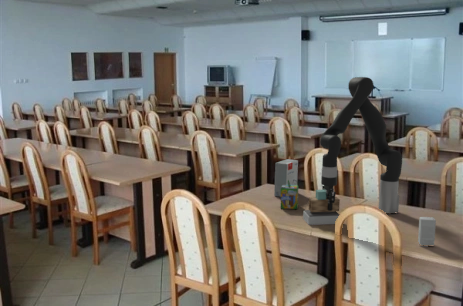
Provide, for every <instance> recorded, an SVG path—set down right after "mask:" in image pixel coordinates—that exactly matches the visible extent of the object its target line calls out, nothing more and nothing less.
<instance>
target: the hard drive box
mask: <svg viewBox="0 0 463 306" xmlns="http://www.w3.org/2000/svg"><path fill="white" fill-rule="evenodd" d="M298 165H299V160H296V159H288V158H287V159H283V160H281V161H278V162H275V166H274V168H275V169H274V170H275V171H274V191H273V195H274V196H275V197H280V198H281V187H282V185H288V180H289V183H290V185H298V174H299V173H298V170H299V167H298Z"/></svg>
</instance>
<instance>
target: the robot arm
mask: <svg viewBox="0 0 463 306" xmlns="http://www.w3.org/2000/svg"><path fill="white" fill-rule="evenodd" d="M373 90H374V81H373V80H372V79H371V78H370V77H368V76H367V77H366V76H359V77H358V76H356V77H352V78H350V80H349V82H348V91H349V94H350V95H351V97H352V98H351V100H350V101H349V102H348V103H347V104H346V105H344V107H342V109H341V110H339V112H338V113H337V115H336V117H335V118H334V120H333V122H332V123H331V125H330V126H329V127H328V128H327V129H326V130H325V131H324V132H323V134H322V135H321V136H320V140H319V143H320V146H321V147H322V148H323V149H327V153H324V154H323V155H322V161H321V162H322V164H321V177H320V178H321V182H320V183H321V185H322V186H321V188H322V189H321V190H325V191H326V198H327V199H328V211H332V207H333V203H334V202H335V197H336V195H337V193H336V191H335V189H334V187H335V186H337V184H338V157H339V154H340V150H341V148H342V140H341V138H340V136H338V135H342V134H344V133H345V131H346V129H348V127H349V124H350V123H351V121H352V120H353V118H354V116H355V114H357V112H358V111H359V113H360V115H361V118H362V120H363V122H364V126H365V128H366V130H367V132H368V134H369V137H370V139H371V142H372V144H373V146H374V150H375V152H376V157H377V160H378V162H379V163H380V165H382V166H384V167H385V172H383V173H380V177H379V194H378V195H379V196H378V208H379V209H381V210H383V211H384V212H386V213H395V212H398V213H399V209H400V208H399V207H400V206H399V205H400V195H399V181H400V178H401V177H400V176H401V174H402V166H403V155H402V153H401V152H400V151H398V150H396V149H391V148H390V146H389V144H388V142H387V138H386V134H387V124H386V122H385V120H384V117H383V115H382V113H381V111H379V109H378V108H377V107H376V105H374V104H373V102H371V100H370V99H369V96H371V94H372V92H373Z"/></svg>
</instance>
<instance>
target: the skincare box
mask: <svg viewBox="0 0 463 306" xmlns="http://www.w3.org/2000/svg"><path fill="white" fill-rule="evenodd" d="M418 218H419V221H418V235H417V236H418V238H417V243H418V242H419V244H421V245H434V246H435V240H436V238H435V237H436V224H437V223H436V222H437V220H436V219H435V217H433V216H430V217H429V216H419V217H418ZM419 244H418V245H419Z"/></svg>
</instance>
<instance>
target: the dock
mask: <svg viewBox="0 0 463 306" xmlns="http://www.w3.org/2000/svg"><path fill="white" fill-rule="evenodd" d="M339 215H341V214H340V213H339V212H338V211H332V212H311V211H310V210H309V209H304V210H303V212H302V219H303V220H304V222H305V223H307V225H308V226H314V225H315V226H316V225H336V224H335V221H336V219H337V218H338V216H339Z"/></svg>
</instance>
